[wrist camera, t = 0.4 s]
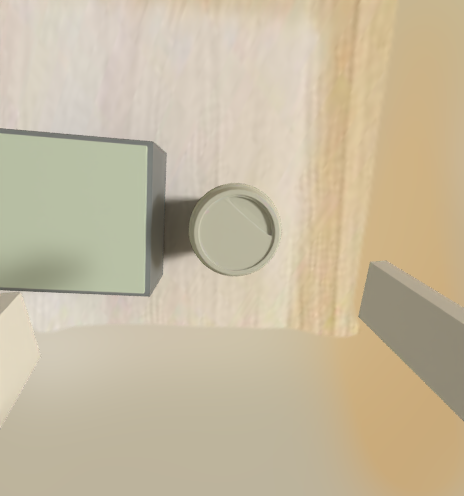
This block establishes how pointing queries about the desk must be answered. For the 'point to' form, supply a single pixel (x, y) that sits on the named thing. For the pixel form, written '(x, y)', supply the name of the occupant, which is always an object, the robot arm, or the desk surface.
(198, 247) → the coffee cup
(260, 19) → the desk surface
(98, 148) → the block
